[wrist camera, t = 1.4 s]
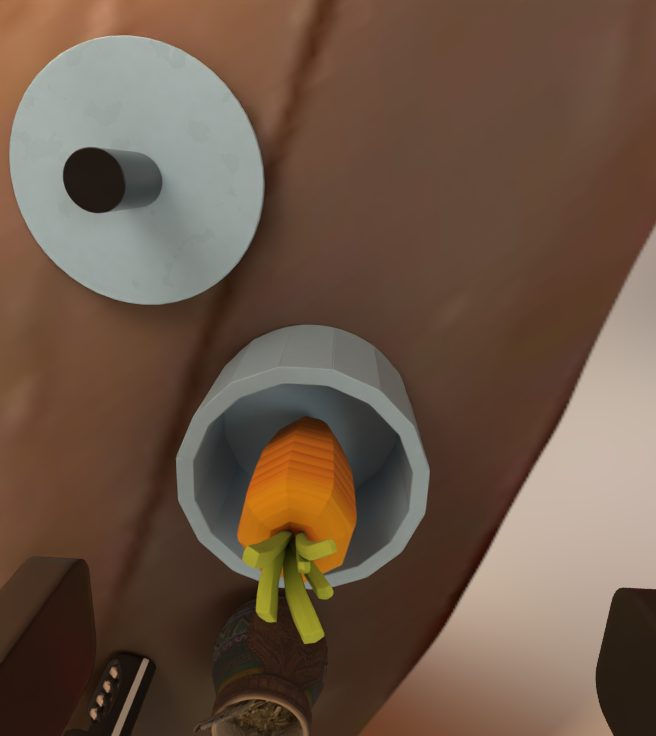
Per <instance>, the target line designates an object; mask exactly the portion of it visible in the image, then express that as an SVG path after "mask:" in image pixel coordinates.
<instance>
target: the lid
mask: <svg viewBox="0 0 656 736" xmlns="http://www.w3.org/2000/svg"><path fill="white" fill-rule="evenodd" d="M9 159H10V173H11V179H12V184H13V189H14V193H15V196H16V200H17V203H18V206H19V209H20V211H21V213H22V215H23V218H24V220H25V222H26V224H27V226H28V228H29V229H30V231H31V233H32V235H33V236H34V238H35V240H36V241H37V242H38V244H39V245H40V246H41V248H42V249H43V250H44V252H45V253H46V254H47V255H48V256H49V257H50V258H51V259H52V260H53V262H54V263H55V264H56V265H57V266H58V267H60V268H61V269H62V270H63V271H64V272H65V273H67V274H68V275H69V276H70V277H72V278H73V279H74V280H76V281H77V282H79V283H80V284H82V285H83V286H85V287H87V288H89V289H91V290H93V291H95V292H97V293H99V294H101V295H104V296H107V297H109V298H112V299H115V300H119V301H123V302H127V303H134V304H143V305H160V304H167V303H174V302H178V301H181V300H185V299H188V298H191V297H193V296H195V295H198V294H200V293H202V292H204V291H206V290H207V289H209V288H210V287H212V286H214V285H215V284H217V283H218V282H219V281H220V280H221V279H223V278H224V277H225V276H226V275H227V274H229V273H230V272H231V270H232V269H233V268H234V267H235V266H236V265H237V264H238V263H239V261H240V260H241V259H242V257H243V256H244V254H245V253H246V251H247V250H248V248H249V246H250V244H251V242H252V240H253V238H254V236H255V234H256V231H257V228H258V225H259V222H260V219H261V213H262V208H263V203H264V190H265V180H264V166H263V161H262V155H261V150H260V147H259V143H258V140H257V137H256V134H255V131H254V129H253V127H252V125H251V122H250V120H249V118H248V116H247V114H246V112H245V111H244V109H243V107H242V106H241V104H240V102H239V101H238V99H237V98H236V97H235V95H234V94H233V93H232V91H231V90H230V89H229V88H228V86H227V85H226V84H225V83H224V82H223V81H222V80H221V79H220V78H219V77H218V76H217V75H216V74H215V73H214V72H213V71H212V70H210V69H209V68H208V67H206V66H205V65H204V64H203V63H201V62H200V61H199V60H197V59H196V58H194V57H193V56H191V55H189V54H188V53H186V52H184V51H182V50H181V49H179V48H176V47H174V46H171V45H169V44H167V43H164V42H161V41H157V40H154V39H150V38H146V37H138V36H130V35H120V36H106V37H101V38H96V39H92V40H89V41H86V42H83V43H80V44H78V45H75V46H74V47H72V48H70V49H68V50H66V51H64V52H63V53H61V54H60V55H58V56H57V57H56V58H55V59H53V60H52V61H51V62H49V63H48V64H47V65H46V66H45V67H44V68H43V69H42V70H41V71H40V73H39V74H38V75H37V76H36V77H35V78H34V80H33V81H32V83H31V84H30V86H29V87H28V89H27V90H26V92H25V94H24V96H23V98H22V100H21V102H20V104H19V107H18V110H17V113H16V116H15V119H14V122H13V127H12V132H11V138H10V154H9Z"/></svg>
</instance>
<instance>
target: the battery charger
mask: <svg viewBox="0 0 656 736" xmlns="http://www.w3.org/2000/svg"><path fill="white" fill-rule="evenodd" d="M155 670H156V665H155V664H154V663H152V662H149V660H148V659H146V658H143V659H142V658H139V657H137V656H134V655H130V654H117V655H114V656H113V657H112V658H111V660H110V661H109V663H108V665H107V667H106V669H105V671H104V673H103V675H102V677H101V679H100V681H99V683H98V685H97V687H96V689H95V691H94V693H93V696H92V698H91V700H90V702H89V704H88V707H87V712H88V714H89V717H90V728H89V730H88V732H87V731H83V730H80V729H71V730H68V731H66V732H65V734H64V735H63V736H131V733H132V730H133V728H134V725H135V722H136V720H137V717H138V714H139V712H140V709H141V706H142V704H143V701H144V699H145V696H146V693H147V691H148V688H149V686H150V683H151V681H152V678H153V675H154V673H155Z"/></svg>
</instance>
